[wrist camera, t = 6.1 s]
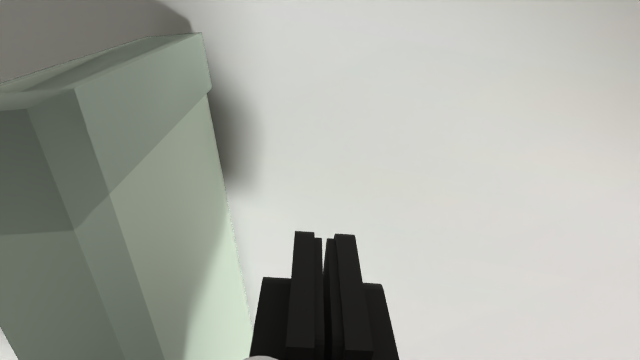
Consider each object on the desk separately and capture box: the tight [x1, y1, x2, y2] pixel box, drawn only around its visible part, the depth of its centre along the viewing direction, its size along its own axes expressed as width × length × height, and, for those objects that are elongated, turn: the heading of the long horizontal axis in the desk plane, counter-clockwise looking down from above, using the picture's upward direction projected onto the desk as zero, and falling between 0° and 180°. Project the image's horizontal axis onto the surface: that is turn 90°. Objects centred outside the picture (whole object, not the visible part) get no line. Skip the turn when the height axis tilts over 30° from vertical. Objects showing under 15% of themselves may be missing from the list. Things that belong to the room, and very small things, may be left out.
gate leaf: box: [0, 32, 253, 360], centre depth 11 cm, size 14×2×8 cm, turn 4°
